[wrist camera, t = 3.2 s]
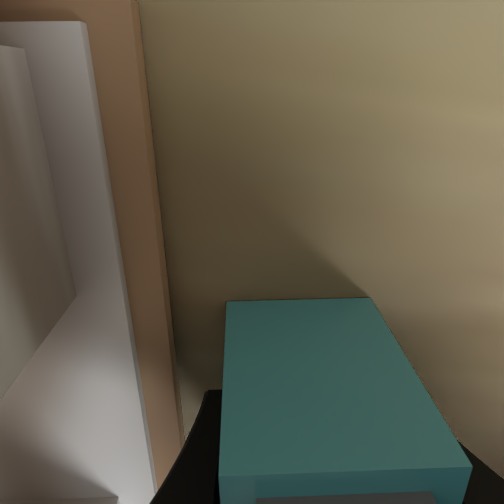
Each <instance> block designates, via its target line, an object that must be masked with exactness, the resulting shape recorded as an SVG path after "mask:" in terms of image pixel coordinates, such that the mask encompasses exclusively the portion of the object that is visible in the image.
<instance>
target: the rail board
mask: <svg viewBox="0 0 504 504" xmlns="http://www.w3.org/2000/svg"><path fill="white" fill-rule="evenodd" d="M184 444H185V438H184V428H183V419H182V409H181V400H180V391H179V381H178V372H177V362H176V353H175V343H174V334H173V325H172V315H171V306H170V296H169V287H168V278H167V268H166V259H165V249H164V240H163V231H162V221H161V212H160V202H159V193H158V183H157V174H156V165H155V155H154V146H153V136H152V127H151V118H150V108H149V99H148V89H147V80H146V70H145V61H144V52H143V42H142V33H141V23H140V14H139V5H138V2H137V1H136V0H0V504H149V503H150V502H151V500H152V499H153V497H154V496H155V494H156V493H157V491H158V490H159V488H160V486H161V485H162V483H163V482H164V480H165V478H166V477H167V475H168V473H169V471H170V469H171V468H172V466H173V464H174V462H175V461H176V459H177V457H178V455H179V453H180V451H181V450H182V448H183V446H184Z"/></svg>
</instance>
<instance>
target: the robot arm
mask: <svg viewBox="0 0 504 504" xmlns="http://www.w3.org/2000/svg"><path fill="white" fill-rule="evenodd" d="M222 391H223V389H221V390H208V391H207V392H206V393H205V395H204V398H203V402H202V405H201V407H200V410H199V413H198V415H197V418H196V420H195V422H194V425H193V427H192V429H191V431H190V433H189V435H188V437H187V439H186V441H185V444H184V446H183V448H182V450H181V451H180V453H179V455H178V457H177V459H176V461H175V462H174V464H173V466H172V468H171V469H170V471H169V473H168V475H167V477H166V478H165V480H164V482H163V483H162V485H161V486H160V488H159V490H158V491H157V493H156V494H155V496H154V497H153V499H152V500H151V502H150V503H149V504H220V492H219V477H218V476H219V455H220V433H221V412H222ZM457 441H458V440H457ZM458 443H459V445H460V446H461V448H462V450H463V451H464V453H465V455H466V456H467V458H468V459H469V461H470V463H471V464H472V466H473V467H472V471H471V474H470V478H469V481H468V485H467V488H466V492H465V495H464V499H463V502H462V504H504V479H503V478H501V477H500V476H499V475H497V474H496V473H495V472H494V471H492V470H491V469H490V468H489V467H488V466H486V465H485V464H484V463H483V462H482V461H480V460H479V459H478V458H477V457H476V456H475V455H473V454H472V453H471V452H470V451H469V450H468V449H466V448H465V447H464V446H463V445H462V444H461V443H460V442H459V441H458Z"/></svg>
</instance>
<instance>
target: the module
mask: <svg viewBox="0 0 504 504" xmlns="http://www.w3.org/2000/svg"><path fill="white" fill-rule="evenodd" d="M472 467H473V466H472V464H471V463H470V461H469V459H468V458H467V456H466V455H465V453H464V451H463V450H462V448H461V446H460V445H459V443H458V441H457V440H456V438H455V436H454V435H453V433H452V431H451V430H450V428H449V426H448V425H447V423H446V422H445V420H444V418H443V417H442V415H441V413H440V412H439V410H438V408H437V407H436V405H435V403H434V402H433V400H432V398H431V397H430V395H429V394H428V392H427V390H426V389H425V387H424V385H423V384H422V382H421V380H420V379H419V377H418V375H417V374H416V372H415V370H414V369H413V367H412V365H411V364H410V362H409V361H408V359H407V357H406V356H405V354H404V352H403V351H402V349H401V347H400V346H399V344H398V342H397V341H396V339H395V337H394V336H393V334H392V332H391V331H390V329H389V328H388V326H387V324H386V323H385V321H384V319H383V318H382V316H381V314H380V313H379V311H378V309H377V308H376V306H375V304H374V303H373V301H372V300H371V298H336V299H300V300H263V301H227V305H226V327H225V348H224V369H223V391H222V412H221V433H220V455H219V476H218V477H219V492H220V504H462V502H463V499H464V495H465V492H466V488H467V485H468V481H469V478H470V474H471V471H472Z"/></svg>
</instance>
